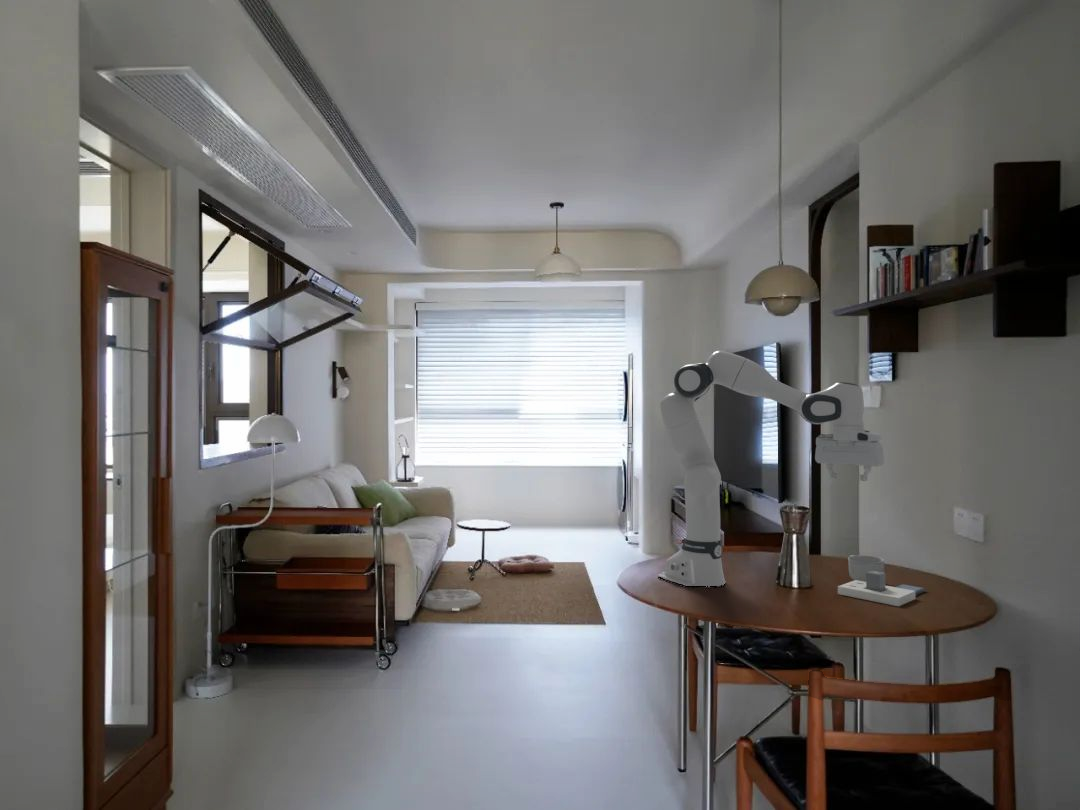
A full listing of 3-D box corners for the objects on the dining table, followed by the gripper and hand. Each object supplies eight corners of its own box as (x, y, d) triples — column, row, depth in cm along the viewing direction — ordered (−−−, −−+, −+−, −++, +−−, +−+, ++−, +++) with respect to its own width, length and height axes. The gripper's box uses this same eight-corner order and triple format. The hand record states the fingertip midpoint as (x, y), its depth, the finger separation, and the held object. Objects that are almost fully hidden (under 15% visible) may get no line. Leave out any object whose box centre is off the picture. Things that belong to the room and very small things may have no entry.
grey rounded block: (890, 586, 226) (890, 561, 226) (856, 586, 226) (856, 561, 226) (870, 576, 240) (869, 552, 240) (838, 576, 240) (838, 552, 240)
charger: (866, 595, 215) (866, 572, 215) (872, 593, 217) (872, 570, 217) (879, 598, 212) (879, 574, 212) (885, 595, 214) (885, 572, 214)
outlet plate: (837, 594, 217) (837, 585, 217) (855, 587, 225) (855, 579, 225) (898, 606, 204) (898, 597, 204) (915, 599, 211) (915, 590, 211)
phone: (887, 593, 218) (887, 589, 218) (901, 587, 225) (901, 583, 225) (910, 597, 213) (910, 594, 213) (925, 591, 220) (925, 587, 220)
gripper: (811, 434, 224) (811, 477, 224) (876, 435, 208) (877, 482, 208) (821, 433, 228) (821, 476, 228) (886, 435, 212) (886, 481, 212)
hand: (848, 479), depth 218 cm, fingers open, 8 cm apart
